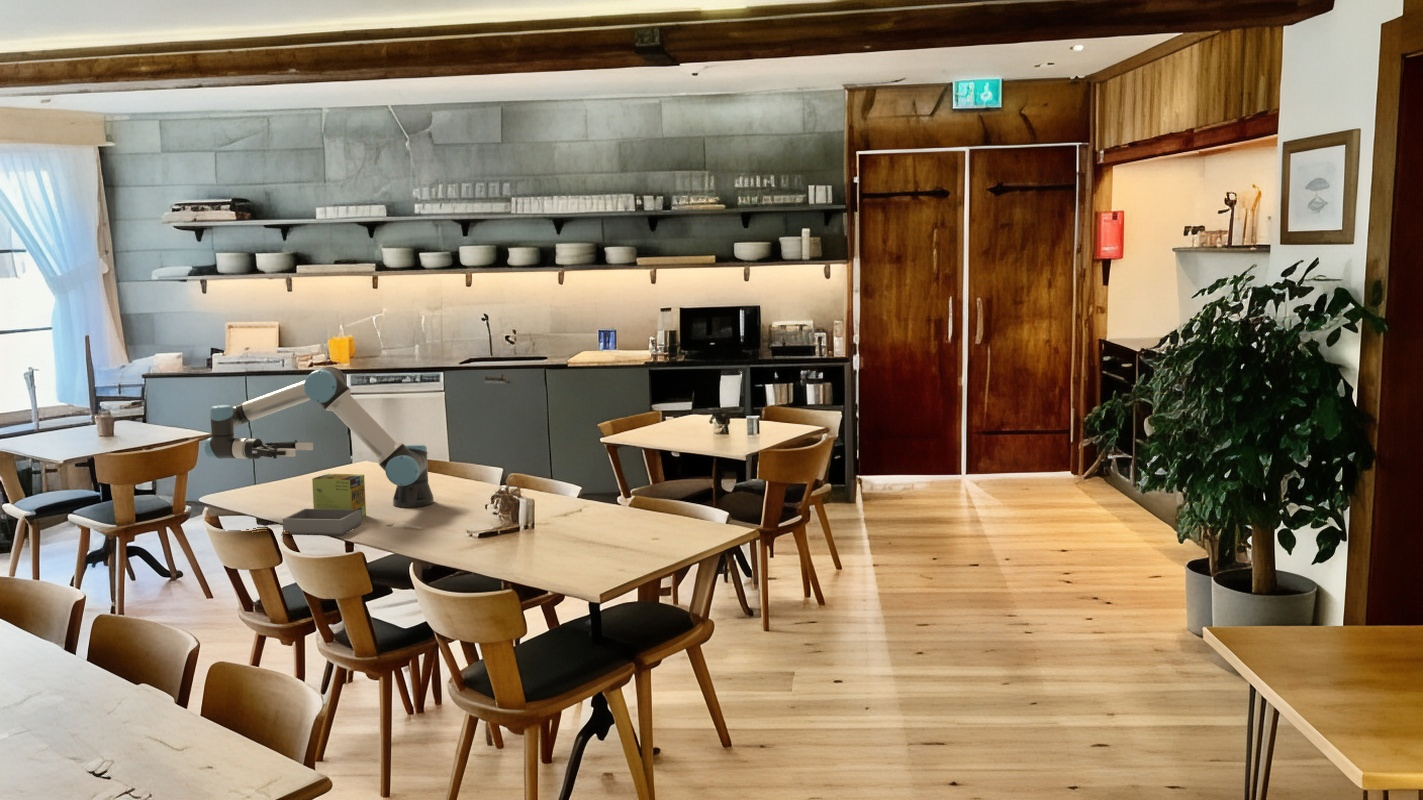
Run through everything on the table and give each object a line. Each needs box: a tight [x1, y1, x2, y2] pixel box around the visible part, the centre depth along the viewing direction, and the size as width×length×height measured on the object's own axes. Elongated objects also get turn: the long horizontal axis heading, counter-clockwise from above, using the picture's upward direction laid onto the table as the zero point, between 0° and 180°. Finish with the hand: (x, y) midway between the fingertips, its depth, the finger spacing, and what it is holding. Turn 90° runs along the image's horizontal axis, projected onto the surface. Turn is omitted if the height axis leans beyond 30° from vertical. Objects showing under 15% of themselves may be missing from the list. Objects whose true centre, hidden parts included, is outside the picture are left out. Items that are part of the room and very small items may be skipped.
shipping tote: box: [281, 508, 363, 537], centre depth 377 cm, size 21×16×6 cm
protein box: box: [311, 473, 367, 518], centre depth 394 cm, size 10×15×16 cm
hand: (304, 449), depth 393 cm, fingers open, 13 cm apart
